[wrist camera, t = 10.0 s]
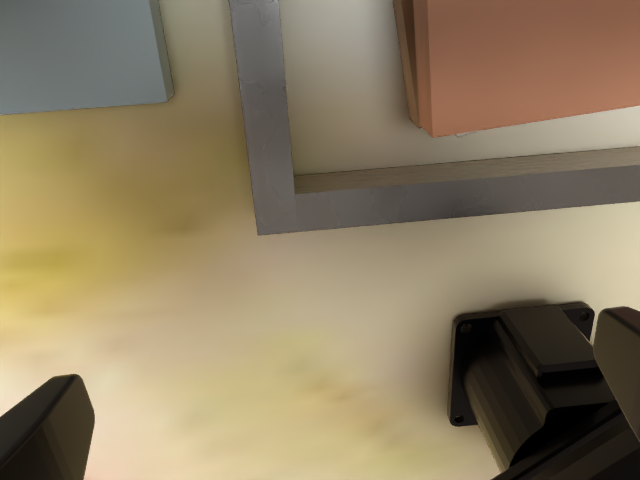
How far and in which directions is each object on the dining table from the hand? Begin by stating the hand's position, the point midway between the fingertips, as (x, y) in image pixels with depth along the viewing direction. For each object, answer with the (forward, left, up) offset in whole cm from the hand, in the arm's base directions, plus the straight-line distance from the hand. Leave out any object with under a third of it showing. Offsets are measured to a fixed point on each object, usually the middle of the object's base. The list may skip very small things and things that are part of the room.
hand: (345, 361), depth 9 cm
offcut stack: (+5, -9, -13) cm, 16 cm away
